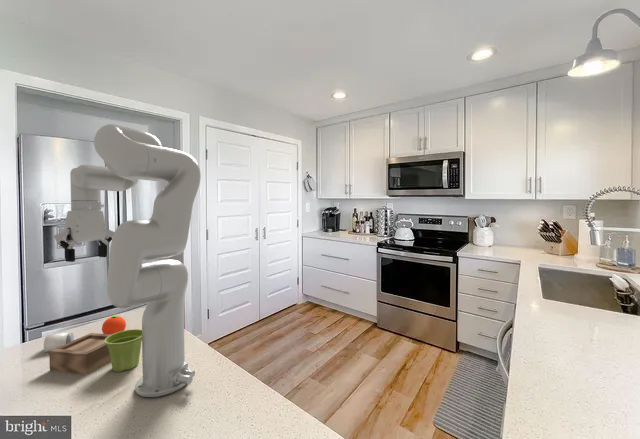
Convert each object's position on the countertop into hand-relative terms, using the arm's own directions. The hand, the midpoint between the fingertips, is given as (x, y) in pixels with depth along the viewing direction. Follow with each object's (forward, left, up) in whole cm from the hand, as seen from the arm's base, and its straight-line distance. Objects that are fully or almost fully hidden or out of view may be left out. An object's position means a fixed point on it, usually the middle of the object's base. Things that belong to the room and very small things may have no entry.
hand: (87, 259), depth 93 cm
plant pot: (-24, +6, -28) cm, 38 cm away
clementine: (-1, -8, -28) cm, 30 cm away
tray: (-11, +7, -29) cm, 32 cm away
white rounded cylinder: (+8, +7, -26) cm, 28 cm away
